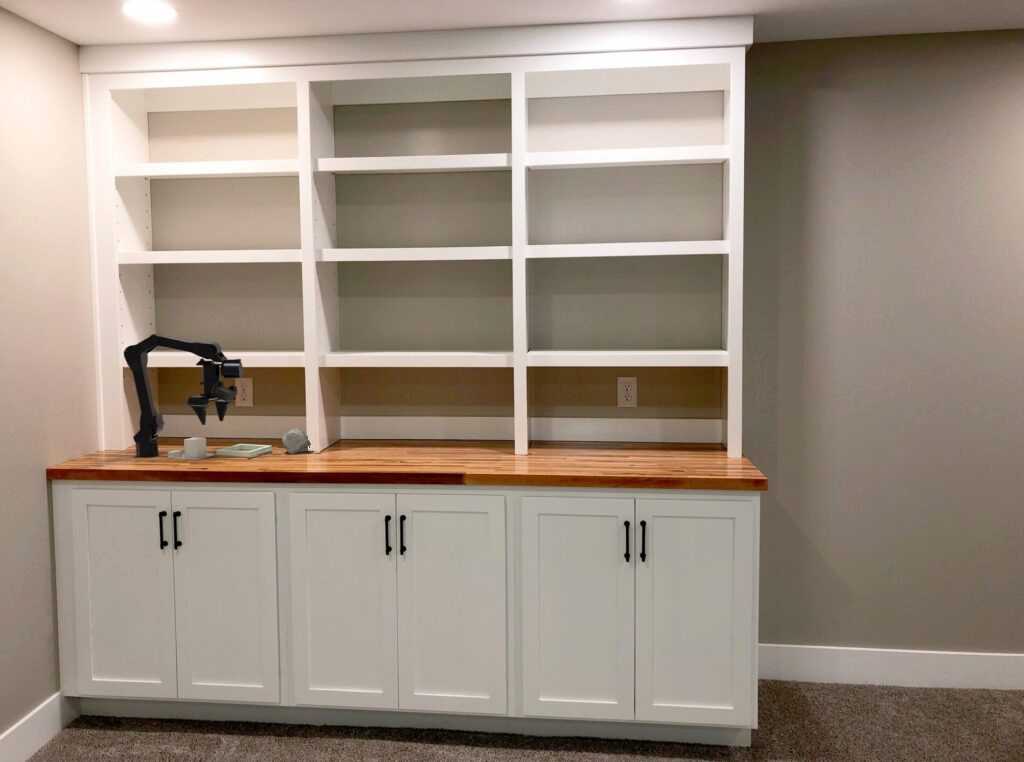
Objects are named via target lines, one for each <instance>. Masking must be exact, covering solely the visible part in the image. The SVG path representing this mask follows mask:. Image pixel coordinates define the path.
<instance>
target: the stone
mask: <svg viewBox="0 0 1024 762" xmlns="http://www.w3.org/2000/svg"><path fill="white" fill-rule="evenodd" d="M308 437H309V436H308V435H307V434H305V431H304V430H303V428H302V427H297V428H291V429H290V430H288V431H287V432H285V433H284V434H283V436H282V437H281V442H282V444H283V447H284V449H285V450H286V451H287V453H289V454H290V455H294V454H298V453H302V452H303V453H305V452H309V451H308V446H309V448H310V445H311V443H310V441H309V440H308Z"/></svg>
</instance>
